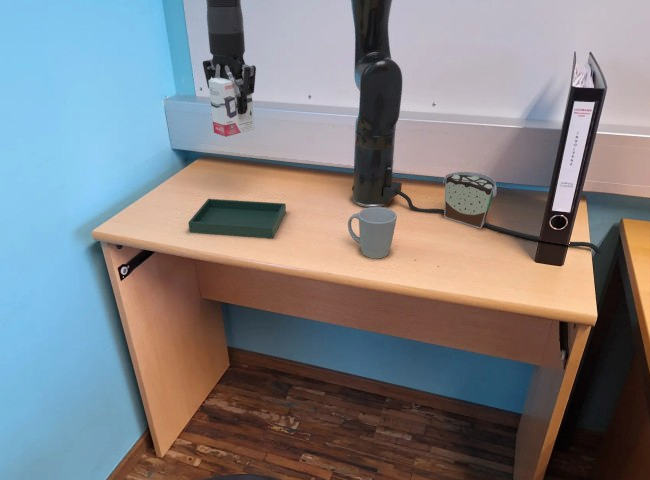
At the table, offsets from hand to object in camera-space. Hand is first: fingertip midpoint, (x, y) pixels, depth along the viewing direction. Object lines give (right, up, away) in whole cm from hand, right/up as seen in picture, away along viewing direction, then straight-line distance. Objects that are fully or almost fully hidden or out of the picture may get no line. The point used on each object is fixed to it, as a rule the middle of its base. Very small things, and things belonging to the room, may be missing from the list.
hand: (232, 111), depth 124 cm
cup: (+30, -33, -11) cm, 46 cm away
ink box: (0, -4, +3) cm, 5 cm away
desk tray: (+1, -25, +2) cm, 25 cm away
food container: (+54, -24, +1) cm, 60 cm away
